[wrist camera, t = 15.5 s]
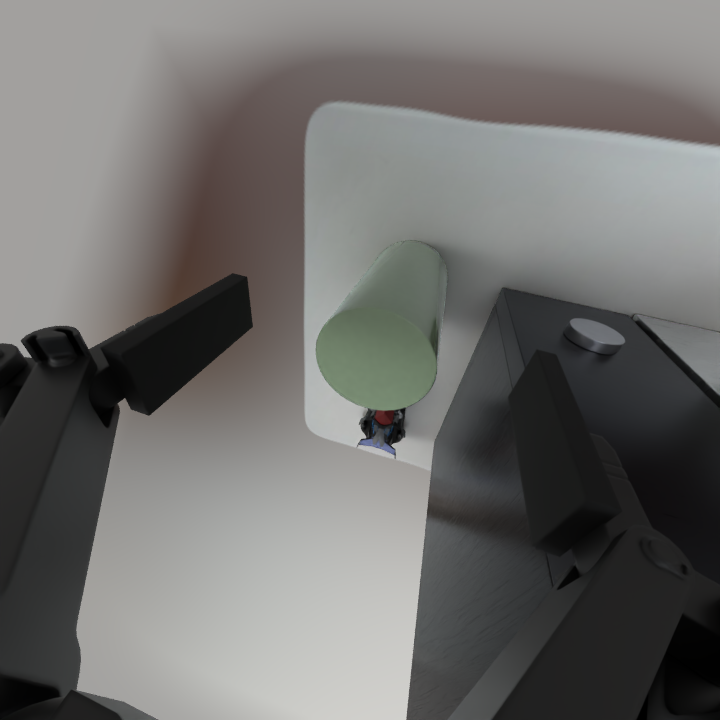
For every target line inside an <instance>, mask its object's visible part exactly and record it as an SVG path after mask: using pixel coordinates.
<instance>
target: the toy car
mask: <svg viewBox="0 0 720 720" xmlns="http://www.w3.org/2000/svg"><path fill="white" fill-rule="evenodd" d="M405 409H406V407H405V408H402V409H397V410H388V411H386V410H374V409H369V408H368V413H367V415H366V417H364V418H362V419H361V420H360V422H359V425H360V424H361V423H362V424H361V429H362V431H363V433H364V434H365V435H366V437H367V438H366V439H361V440H360V442H359V443H360V444H359V443H358V445H366V446H373V447H376V448H380V449H383V450H385V451H387V452H389V453H391V454H393V455H395V457H396V452H395V449H394V448H393V447H392V446H391V445H392V444H393V443H397V442H400V440H401V439H402V438H403V437H405V430H404V429H403V420H404V417H405V416H404V414H405ZM393 422H394V424H393ZM358 445H357V447H358Z"/></svg>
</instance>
